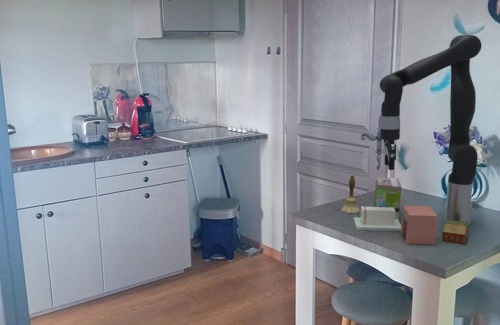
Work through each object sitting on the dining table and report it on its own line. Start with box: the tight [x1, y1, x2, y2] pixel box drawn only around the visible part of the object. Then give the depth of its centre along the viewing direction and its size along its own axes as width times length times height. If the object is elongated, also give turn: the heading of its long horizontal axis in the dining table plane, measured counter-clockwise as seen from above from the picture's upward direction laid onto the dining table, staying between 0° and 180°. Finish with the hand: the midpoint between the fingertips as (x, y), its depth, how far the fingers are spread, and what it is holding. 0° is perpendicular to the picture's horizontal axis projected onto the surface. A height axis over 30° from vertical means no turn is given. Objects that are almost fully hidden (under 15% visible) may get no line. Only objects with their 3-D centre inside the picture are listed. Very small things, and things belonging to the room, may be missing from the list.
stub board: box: [353, 217, 402, 232], centre depth 204 cm, size 18×12×1 cm, turn 84°
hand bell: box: [340, 175, 361, 214], centre depth 222 cm, size 8×8×16 cm
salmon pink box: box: [400, 204, 439, 246], centre depth 189 cm, size 10×12×11 cm
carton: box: [441, 220, 469, 245], centre depth 193 cm, size 8×16×4 cm, turn 154°
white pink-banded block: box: [359, 206, 396, 225], centre depth 204 cm, size 13×4×6 cm, turn 84°
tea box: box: [373, 176, 402, 220], centre depth 218 cm, size 15×10×15 cm
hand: (389, 167), depth 202 cm, fingers open, 8 cm apart
